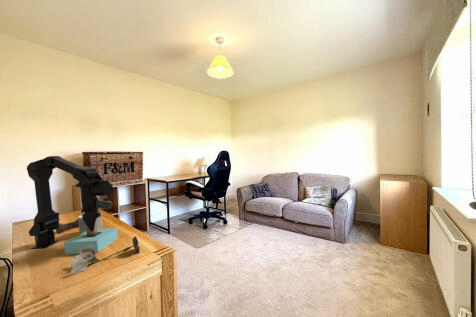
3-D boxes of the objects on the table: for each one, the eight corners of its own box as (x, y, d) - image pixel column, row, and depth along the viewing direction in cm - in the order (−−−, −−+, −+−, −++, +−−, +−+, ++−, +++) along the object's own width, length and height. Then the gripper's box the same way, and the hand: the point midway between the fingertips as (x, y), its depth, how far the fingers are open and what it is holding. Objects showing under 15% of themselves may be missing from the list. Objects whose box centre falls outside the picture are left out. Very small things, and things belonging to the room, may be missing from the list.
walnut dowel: (85, 241, 90) (82, 218, 89) (91, 237, 94) (89, 216, 93) (93, 240, 90) (91, 218, 89) (100, 236, 94) (98, 215, 93)
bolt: (88, 226, 125) (59, 235, 112) (83, 222, 127) (54, 230, 113) (90, 219, 124) (61, 227, 110) (86, 214, 126) (56, 221, 112)
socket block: (65, 254, 85) (63, 242, 85) (89, 239, 99) (88, 229, 99) (98, 252, 85) (97, 240, 85) (118, 238, 99) (117, 227, 99)
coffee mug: (105, 232, 108) (103, 213, 108) (82, 238, 101) (80, 219, 101) (97, 227, 117) (95, 210, 117) (75, 233, 109) (74, 215, 109)
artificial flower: (141, 259, 80) (136, 238, 76) (71, 285, 70) (61, 263, 67) (140, 244, 87) (135, 225, 84) (76, 267, 77) (67, 246, 74)
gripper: (112, 195, 89) (115, 230, 90) (107, 190, 103) (109, 220, 104) (81, 200, 82) (84, 238, 82) (79, 194, 96) (82, 227, 97)
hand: (91, 230), depth 92 cm, fingers closed on walnut dowel, 4 cm apart
